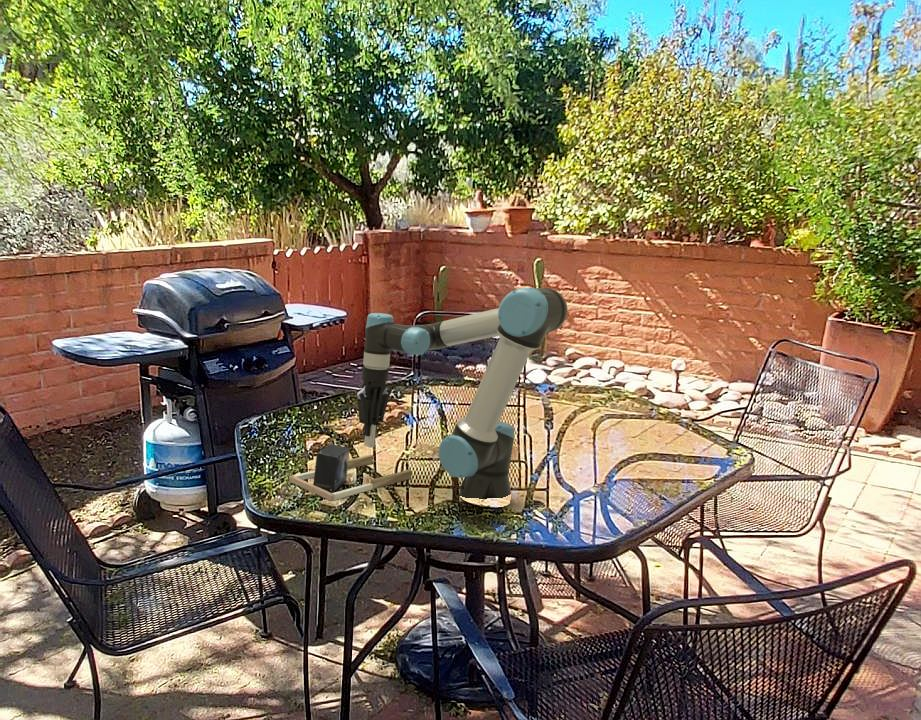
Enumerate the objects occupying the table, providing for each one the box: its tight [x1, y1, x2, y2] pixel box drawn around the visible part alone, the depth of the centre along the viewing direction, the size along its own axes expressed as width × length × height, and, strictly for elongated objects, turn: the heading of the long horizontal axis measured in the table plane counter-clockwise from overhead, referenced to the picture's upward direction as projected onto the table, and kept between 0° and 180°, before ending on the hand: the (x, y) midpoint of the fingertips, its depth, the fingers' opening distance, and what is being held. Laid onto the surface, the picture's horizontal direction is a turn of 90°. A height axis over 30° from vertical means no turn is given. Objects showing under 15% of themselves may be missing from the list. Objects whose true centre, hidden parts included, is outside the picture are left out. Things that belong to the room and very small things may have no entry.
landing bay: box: [288, 470, 374, 502], centre depth 209 cm, size 17×16×2 cm
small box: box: [313, 443, 350, 493], centre depth 209 cm, size 11×6×10 cm, turn 169°
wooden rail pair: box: [347, 454, 413, 490], centre depth 222 cm, size 17×16×2 cm
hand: (369, 446), depth 218 cm, fingers closed
